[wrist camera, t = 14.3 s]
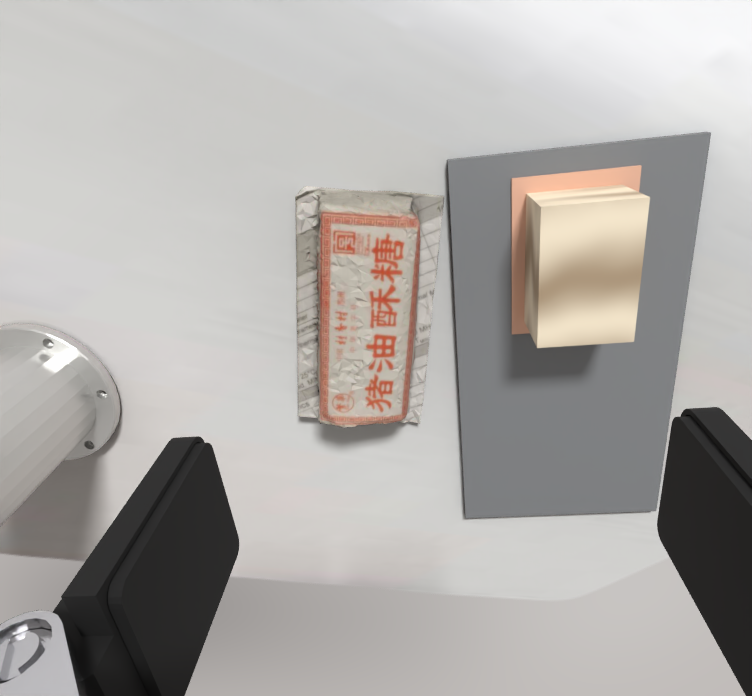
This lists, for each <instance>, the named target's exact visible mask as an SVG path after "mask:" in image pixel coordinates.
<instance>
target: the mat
mask: <svg viewBox="0 0 752 696" xmlns="http://www.w3.org/2000/svg"><path fill="white" fill-rule="evenodd" d="M710 137H711V133H710V132H701V133H692V134H683V135H673V136H664V137H654V138H645V139H636V140H626V141H617V142H607V143H598V144H589V145H579V146H570V147H561V148H551V149H542V150H532V151H523V152H514V153H504V154H495V155H486V156H476V157H467V158H457V159H448V160H447V162H448V182H449V202H450V222H451V242H452V263H453V283H454V303H455V323H456V343H457V363H458V383H459V403H460V423H461V443H462V463H463V483H464V503H465V517H466V518H487V517H513V516H539V515H565V514H591V513H617V512H643V511H656V508H657V501H658V495H659V488H660V481H661V474H662V467H663V460H664V453H665V446H666V440H667V433H668V426H669V419H670V412H671V405H672V398H673V391H674V384H675V378H676V371H677V364H678V357H679V350H680V343H681V336H682V329H683V322H684V316H685V309H686V302H687V295H688V288H689V281H690V274H691V267H692V260H693V254H694V247H695V240H696V233H697V226H698V219H699V212H700V205H701V199H702V192H703V185H704V178H705V171H706V164H707V157H708V150H709V143H710ZM612 185H624V186H626V187H629V188H631V189H633V190H635V191H638V192H640V193H642V194H644V195H646V196H649V197H650V203H649V212H648V221H647V230H646V239H645V248H644V257H643V266H642V275H641V284H640V293H639V302H638V311H637V320H636V329H635V338H634V342H625V343H609V344H594V345H578V346H563V347H547V348H537V347H536V345H535V343H534V341H533V338H532V336H531V334H530V332H529V330H528V328H527V326H526V324H525V322H524V302H525V236H526V193H537V192H548V191H558V190H569V189H580V188H591V187H602V186H612Z"/></svg>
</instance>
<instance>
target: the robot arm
mask: <svg viewBox="0 0 752 696" xmlns="http://www.w3.org/2000/svg"><path fill="white" fill-rule="evenodd" d="M119 417H120V400H119V395H118V392H117V389H116V386H115V384H114V382H113V380H112V378H111V376H110V374H109V372H108V371H107V370H106V368H105V367H104V366H103V364H102V363H101V362H100V360H99V359H98V358H97V357H96V356H95V355H94V354H93V353H92V352H91V351H90V350H88V349H87V348H86V347H84V346H83V345H82V344H80V343H79V342H78V341H76V340H75V339H73V338H71V337H69V336H67V335H65V334H63V333H62V332H59V331H56V330H54V329H51V328H48V327H45V326H40V325H34V324H10V325H4V326H1V327H0V527H1V526H2V525H3V524H4V523H5V521H6V520H7V519H8V518H9V517H10V516H11V515H12V514H13V513H14V512H15V511H16V510H17V509H18V508H19V507H20V506H21V505H22V504H23V502H24V501H25V500H26V499H27V498H28V497H29V496H30V495H31V494H32V493H33V492H34V491H35V490H36V489H37V488H38V487H39V486H40V484H41V483H42V482H43V481H44V480H45V479H46V478H47V477H48V476H49V475H50V474H51V473H52V472H53V471H54V470H55V469H56V468H57V467H58V465H59V464H60V463H61V462H62V461H68V460H75V459H80V458H83V457H86V456H89V455H91V454H92V453H94V452H96V451H97V450H99V449H100V448H101V447H102V446H103V445H104V444H105V443H106V442H107V441H108V440H109V438H110V437H111V436H112V434H113V433H114V432H115V430H116V427H117V425H118V422H119ZM657 527H658V533H659V537H660V540H661V542H662V544H663V546H664V547H665V549H666V551H667V553H668V555H669V557H670V558H671V560H672V562H673V564H674V565H675V567H676V569H677V571H678V573H679V575H680V577H681V578H682V580H683V582H684V584H685V586H686V587H687V589H688V591H689V593H690V594H691V596H692V598H693V600H694V602H695V604H696V606H697V607H698V609H699V611H700V613H701V615H702V617H703V618H704V620H705V622H706V623H707V626H708V627H709V629H710V631H711V633H712V634H713V636H714V638H715V640H716V642H717V644H718V646H719V647H720V649H721V651H722V653H723V655H724V656H725V658H726V660H727V662H728V664H729V665H730V667H731V669H732V671H733V673H734V675H735V676H736V678H737V680H738V682H739V684H740V686H741V687H742V689H743V691H744V693H745V695H746V696H752V440H751V439H750V438H749V437H748V436H747V435H746V434H745V433H744V432H743V431H742V430H741V429H740V428H739V427H738V426H737V425H736V424H735V423H734V421H733V420H732V419H731V418H730V417H729V416H728V415H727V414H726V413H725V412H724V411H723V410H721V409H720V408H717V407H711V408H693V409H685V410H684V411H683V412H682V414H681V417H675V418H674V419H673V421H672V426H671V433H670V440H669V446H668V453H667V460H666V467H665V473H664V480H663V487H662V494H661V500H660V507H659V514H658V521H657ZM238 551H239V538H238V534H237V530H236V527H235V524H234V520H233V517H232V513H231V510H230V506H229V503H228V499H227V496H226V492H225V489H224V485H223V482H222V478H221V475H220V472H219V468H218V465H217V461H216V458H215V454H214V451H213V448H212V446H211V444H210V443H204V440H203V439H202V438H201V437H182V438H173V439H171V440H170V441H169V442H168V444H167V445H166V447H165V448H164V450H163V451H162V452H161V454H160V455H159V457H158V458H157V460H156V461H155V462H154V464H153V465H152V467H151V468H150V470H149V471H148V473H147V474H146V475H145V477H144V478H143V480H142V481H141V483H140V484H139V485H138V487H137V488H136V490H135V491H134V493H133V494H132V496H131V497H130V498H129V500H128V501H127V503H126V504H125V506H124V507H123V508H122V510H121V511H120V513H119V514H118V516H117V517H116V519H115V520H114V521H113V523H112V524H111V526H110V527H109V529H108V530H107V531H106V533H105V534H104V536H103V537H102V539H101V540H100V542H99V543H98V544H97V546H96V547H95V549H94V550H93V552H92V553H91V555H90V556H89V557H88V559H87V560H86V562H85V563H84V565H83V566H82V568H81V569H80V570H79V572H78V573H77V575H76V576H75V578H74V579H73V581H72V582H71V583H70V585H69V586H68V588H67V589H66V591H65V592H64V593H63V595H62V596H61V597H62V600H61V601H60V602H59V604H58V605H57V607H56V608H55V610H54V611H53V612H51V611H42V610H36V611H32V612H27V613H23V614H21V615H18V616H16V617H13V618H11V619H8V620H7V621H5V622H4V623H2V624H0V696H184V695H185V693H186V690H187V687H188V685H189V682H190V679H191V677H192V674H193V672H194V669H195V666H196V664H197V661H198V658H199V656H200V653H201V650H202V648H203V645H204V643H205V640H206V637H207V635H208V632H209V629H210V626H211V624H212V621H213V619H214V616H215V614H216V611H217V608H218V605H219V603H220V600H221V598H222V595H223V592H224V590H225V587H226V584H227V582H228V579H229V576H230V574H231V571H232V569H233V566H234V563H235V561H236V558H237V555H238Z"/></svg>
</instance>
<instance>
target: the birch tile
mask: <svg viewBox="0 0 752 696" xmlns="http://www.w3.org/2000/svg"><path fill="white" fill-rule="evenodd" d="M649 203H650V197H649V196H646V195H644V194H642V193H640V192H638V191H635V190H633V189H631V188H629V187H626V186H624V185H612V186H602V187H591V188H580V189H569V190H558V191H548V192H537V193H526V236H525V302H524V322H525V324H526V326H527V328H528V330H529V332H530V334H531V336H532V338H533V341H534V343H535V345H536V347H537V348H547V347H563V346H578V345H594V344H609V343H625V342H634V338H635V329H636V320H637V311H638V302H639V293H640V284H641V275H642V266H643V257H644V248H645V239H646V230H647V221H648V212H649Z"/></svg>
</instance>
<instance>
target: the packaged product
mask: <svg viewBox="0 0 752 696" xmlns="http://www.w3.org/2000/svg"><path fill="white" fill-rule="evenodd" d="M295 199H296V241H297V328H298V329H297V332H298V416H299V417H312V418H318V420H319V422H320V424H321V423H324V424H330V425H335V426H339V427H342V428H344V427H356V426H358V425H369V424H376V423H379V424H381V423H383V424H389V423H393V422H401V423H406V422H408V421H409V422H415V423H420V419H421V411H422V404H423V395H424V387H425V378H426V368H427V357H428V347H429V336H430V327H431V319H432V305H433V294H434V287H435V279H436V274H437V263H438V251H439V241H440V231H441V220H442V213H443V204H444V196H439V195H428V194H417V193H407V192H396V191H355V190H345V189H333V188H322V187H310V186H305V187H303V188H302V189H301V190H300V192H299V193H298V194H297V196H296V197H295Z"/></svg>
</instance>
